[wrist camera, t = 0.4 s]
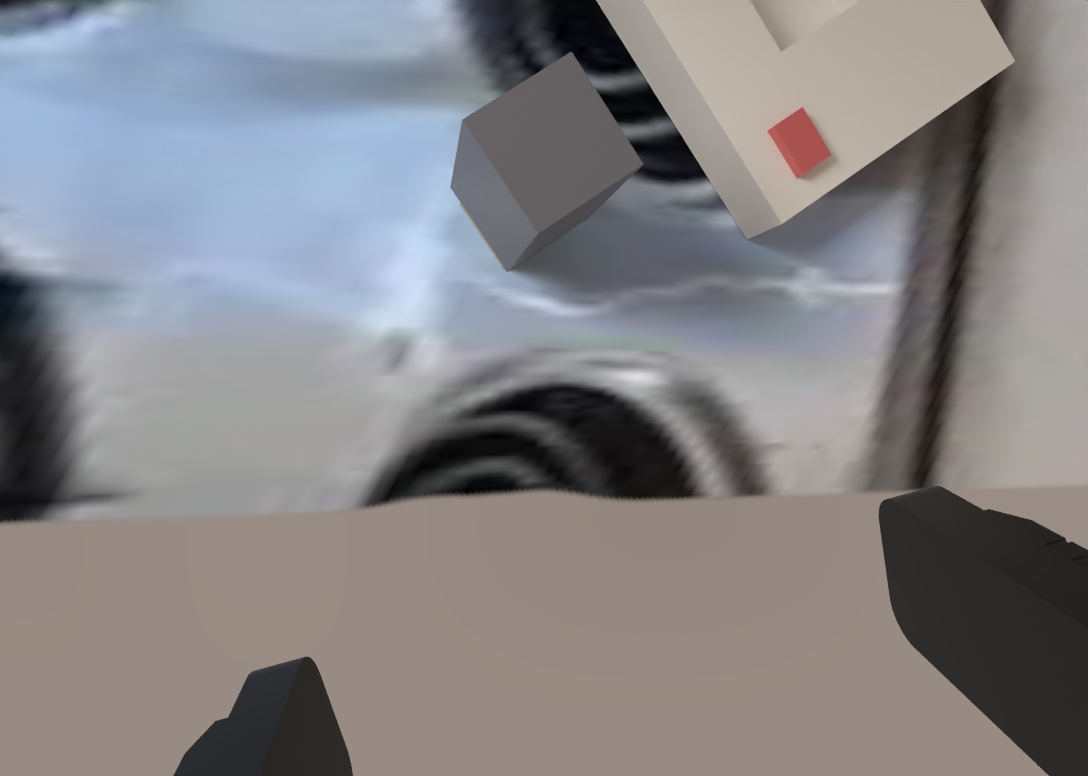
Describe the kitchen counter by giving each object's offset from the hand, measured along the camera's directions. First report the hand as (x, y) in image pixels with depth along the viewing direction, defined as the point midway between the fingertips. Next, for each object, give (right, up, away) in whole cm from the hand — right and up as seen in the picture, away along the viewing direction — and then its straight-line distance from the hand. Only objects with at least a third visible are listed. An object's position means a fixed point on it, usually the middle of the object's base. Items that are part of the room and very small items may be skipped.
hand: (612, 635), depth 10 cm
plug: (-2, +11, +24) cm, 26 cm away
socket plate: (+10, +22, +26) cm, 35 cm away
